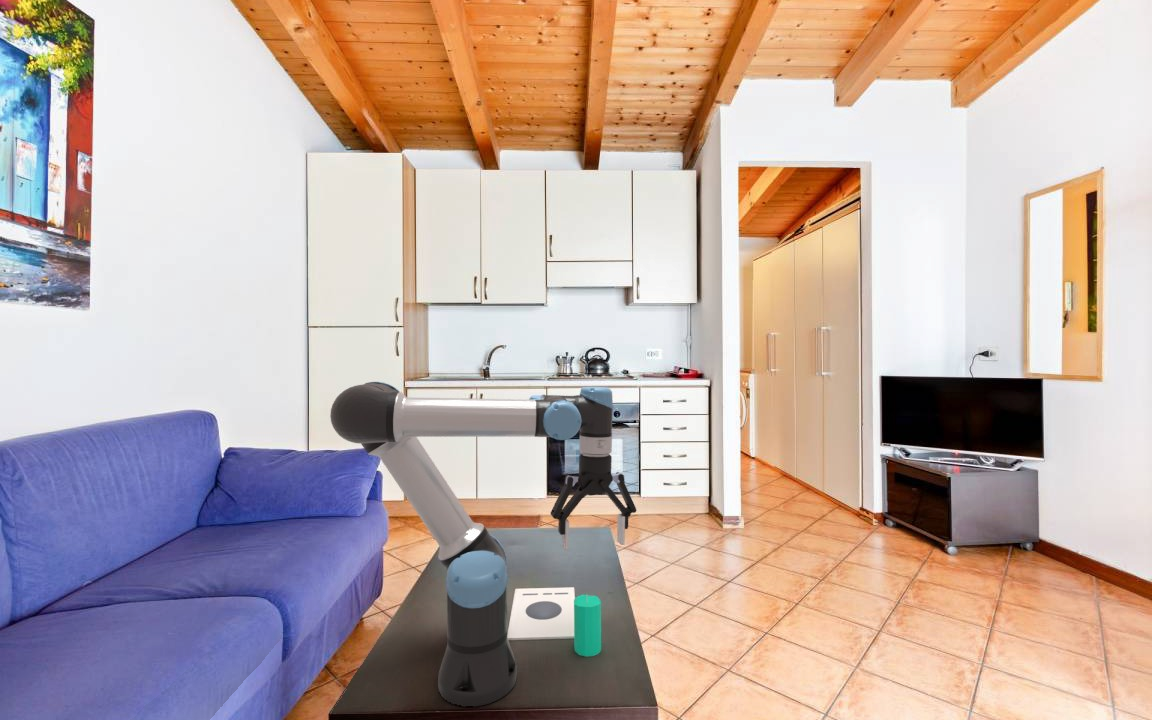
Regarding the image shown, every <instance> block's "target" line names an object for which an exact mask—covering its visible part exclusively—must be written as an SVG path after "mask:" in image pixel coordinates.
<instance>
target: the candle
mask: <svg viewBox="0 0 1152 720" xmlns="http://www.w3.org/2000/svg"><path fill="white" fill-rule="evenodd" d="M573 639H574V641H573V642H574V643H573V648H574V652H575V653H576V654H577V655H579V656H583V657H595V656H597V655H599V654H600V652H602V600H601V599H600V598H599V597H598V596H597V595H589V593H586V594H581V595H578V596H575V599H574V638H573Z"/></svg>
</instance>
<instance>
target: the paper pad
mask: <svg viewBox="0 0 1152 720" xmlns="http://www.w3.org/2000/svg"><path fill="white" fill-rule="evenodd" d="M575 598H576V596H575V587H574V586H573V587H540V588H539V587H538V588H537V587H536V588H535V587H534V588H533V587H532V588H531V587H530V588H515V590H514V595H513V599H512V600H513V601H512V606H511V611H510V612H511V613H510V619H509V624H508V627H507V637H508V641H527V640H528V641H529V640H562V639H563V640H567V639H568V640H569V639H574V599H575Z"/></svg>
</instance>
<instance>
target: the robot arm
mask: <svg viewBox="0 0 1152 720" xmlns="http://www.w3.org/2000/svg"><path fill="white" fill-rule="evenodd" d="M613 402H614V401H613V391H612V389H611V388H609V387H604V386H583V387H581V388H580V391H579V394H577V395H576V394H575V395H560V394H559V395H557V394H556V395H555V394H554V395H553V394H549V395H548V394H541V395H539V394H538V395H531V396H530V397H529V398H528V399H521V398H520V399H519V398H518V399H516V398H515V399H512V398H508V399H507V398H465V397H464V398H462V397H461V398H460V397H457V398H456V397H454V398H452V397H410V396H409V397H408V396H406V395H405V394H404V393H403V392H401V391H400V390H399V389H397V387H395V386H393V385H391V384H390V383H389V384H388V383H386V382H382V381H370V382H368V381H367V382H366V383H363V384H356V385H354V386H350V387H348V388H346V389H344V390H343V391H342V392H341V393H339V395H337V397H336V398H335V400H334V401H333V403H332V405H331V408H330V413H329V414H330V423H331V425H332V428H333V429H334V431H335V432H336V433H337V434H338V435H339V436H340V438H342V439H344V440H345V441H348V442H351V443H354V444H360V445H361V446H362V448H363V449H364V450H365V452H366V453H367V455H368V456H373V457H378V458H379V459H380V460H381V462H382V463H383V464H384V466H385V467H386V469H387V471H389V472H388V473H389V474H390V475H391V476H392V478H393V479H394V481H395V483H396V484H397V485H398V487H399V488H400V490H401V491H402V493H403V495H404V496H405V497H406V498H407V500H408V501H409V504H410V505H411V506H412V508H413V509H414V511H415V512H416V513H417V515H418V517H419V518H420V520H421V521H422V522H423V524H424V525H425V527H426V528H427V530H428V531H429V533H430V535H432V537H433V538H434V540H435V542H436V543H437V545H438V546H439V551H438V555H437V557H438V560H439V561H440V563H441V565H442V566H443V567H444V568H445V570H446V578H445V589H446V623H447V624H446V626H447V627H446V638H447V640H446V641H447V645H446V648H445V651H444V654H443V657H442V662H441V665H440V667H439V670H438V675H437V676H438V677H437V678H438V679H437V683H438V684H437V686H438V689H437V690H438V692H440V693H439V695H440V694H441V695H440V696H441V697H442V699H444V700H445V701H446V700H447V701H446V702H448V703H450V702H451V703H450V704H452V705H455V704H457V705H456V706H459V705H461V707H466V706H473V707H481V706H485V705H489V704H492V703H494V702H496V701H498V700H501V699H503V698H504V697H505V696H506V695H508V694H509V693H510V691H511V690H513V689H514V687H515V685H516V683H517V679H518V678H517V677H518V675H517V673H518V669H517V662H516V658H515V655H514V653H513V650H512V647H511V644H510V640H508V637H507V633H508V582H509V573H508V570H507V569H508V568H507V565H508V563H507V556H506V552H505V548H504V547H503V545H502V544H501V542H500V541H499V540H498V538H496V537H495V536H494V535H491V534H490V533H489V531H488V529H487V528H486V526H485V525H484V524H483V523H480V522H475V521H474V520H472V518H471V517H470V515H469V514H468V512H467V511H466V509H465V507H464V506H463V504H462V503H461V502H460V500H459V499H458V497H457V496H456V494H455V493H454V491H453V490H452V488H451V486H450V485H449V484H448V482H447V480H446V479H445V477H444V476H443V474H442V473H441V471H440V470H439V469H438V467H437V466H436V464H435V463H434V462H435V461H433V459H432V458H431V457H430V455H429V454H428V451H427V450H426V449H425V447H424V446H423V444H422V443H421V442H420V440H419V437H420V438H421V437H427V438H428V437H434V438H435V437H437V438H438V437H441V438H442V437H446V438H447V437H455V438H456V437H459V438H461V437H463V438H464V437H468V438H469V437H478V438H479V437H491V438H492V437H493V438H494V437H499V438H500V437H509V438H511V437H519V438H520V437H523V438H524V437H525V438H527V437H530V438H531V437H535V438H552V439H555V440H558V441H567V440H570V439H572V438H573V437H574V436H576V435H577V434H578V432H579V443H578V444H579V447H578V448H579V449H578V451H579V452H580V454H579V455H578V473H577V474H578V475H577V476H574V475H573V476H572V475H569V474H565V477H564V483H563V485H562V488H561V491H560V492H559V495H558V497H557V499H556V501H555V502H554V505H553V507H552V509H551V511H550V516H551V517H552V518H553V519H555V520H558V530H557V531H558V533H559V535H560V536H561V537H562V538H561V547H562V549H564V551H569V550H570V549H569V547H570V545H569V543H570V538H569V537H570V520H568V517H569V516H570V515H571V514H572V512H573V511H574V510H575V509H576V507H577V506H578V505H579V504H580V502H581V501H582V500H583V499H585V497H586V496H587V495H588V496H595V495H599V496H602V495H603V494H604V493H605V494H606V495H607V497H608V498H609V500H610V501H612V503H613V504H614V505H615V507H616V508H617V509H618V510H619V512H620V513H617V526H616V527H617V529H616V530H617V531H616V533H617V537H616V542H617V543H619V544H620V545H621V546H625V543H626V542H625V538H626V537H625V536H626V535H625V534H626V531H625V530H628V529H629V518H630V517H631V515H632V514H634V513H636V512H637V507H636V505H635V504H634V501H633V499H632V496H631V494H630V493H629V490H628V487H627V485H626V483H625V482H626V481H625V475H624V474H623V473H622V472H619V471H617V472H615V473H613V474H612V462H613V461H612V455H611V453H612V451H613V450H612V449H613V448H612V447H613V446H612V445H613V433H612V432H613V410H614V405H613V404H614V403H613ZM612 482H614V483H615V484H616V486H617V488H618V490H619V492H620V494H621V497H622V498H623V501H624V503H625V505H626V506H625V505H624V504H623V503H622V501H621V500H620V498H618V496H616V494H615V493H614V490H612V489H611V488H610V485H611V484H612ZM577 483H578V485H579V486H578V487H577V489H576V490H575V493H574V494H573V495H572V496H571V497H570V499H569V500H568V497H569V496H570V494H571V492H572V488H573V487H574V486H575V484H577ZM567 500H568V502H567ZM565 503H566V504H565ZM462 705H463V706H462Z"/></svg>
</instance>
